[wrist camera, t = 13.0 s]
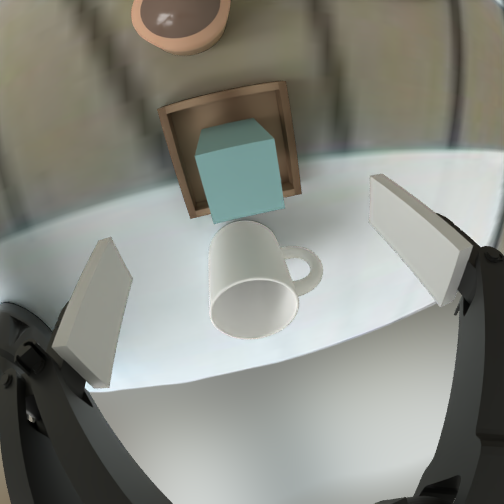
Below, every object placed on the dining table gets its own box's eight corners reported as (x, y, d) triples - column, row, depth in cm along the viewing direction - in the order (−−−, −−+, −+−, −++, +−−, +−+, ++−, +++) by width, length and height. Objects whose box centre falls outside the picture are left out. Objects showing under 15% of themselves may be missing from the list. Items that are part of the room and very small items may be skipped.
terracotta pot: (159, 64, 20) (140, 59, 15) (145, 5, 16) (124, -15, 10) (232, 46, 20) (239, 34, 15) (219, -13, 16) (221, -41, 10)
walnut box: (191, 207, 30) (190, 218, 28) (162, 106, 23) (157, 109, 21) (295, 184, 29) (301, 194, 27) (279, 80, 23) (285, 81, 21)
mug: (306, 207, 31) (340, 261, 23) (307, 263, 36) (333, 323, 28) (201, 224, 31) (199, 287, 23) (216, 280, 36) (219, 345, 27)
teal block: (201, 129, 24) (194, 156, 16) (253, 117, 24) (274, 138, 16) (213, 176, 27) (214, 225, 19) (262, 165, 27) (285, 209, 19)
